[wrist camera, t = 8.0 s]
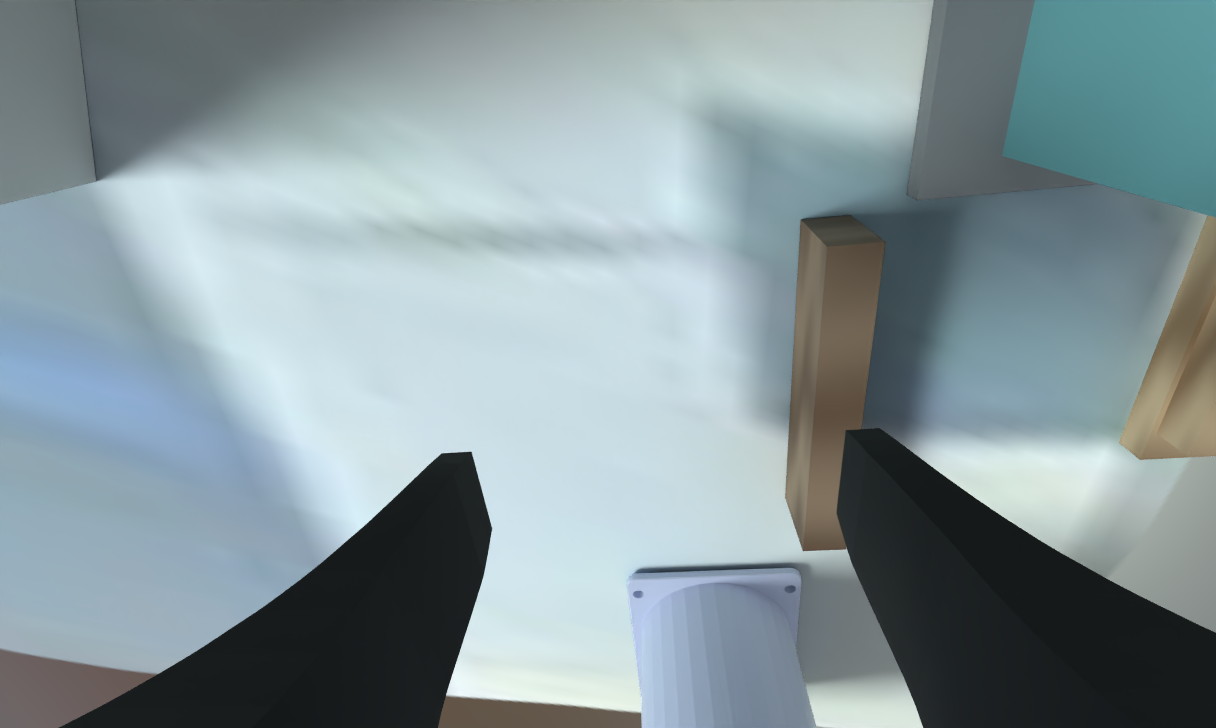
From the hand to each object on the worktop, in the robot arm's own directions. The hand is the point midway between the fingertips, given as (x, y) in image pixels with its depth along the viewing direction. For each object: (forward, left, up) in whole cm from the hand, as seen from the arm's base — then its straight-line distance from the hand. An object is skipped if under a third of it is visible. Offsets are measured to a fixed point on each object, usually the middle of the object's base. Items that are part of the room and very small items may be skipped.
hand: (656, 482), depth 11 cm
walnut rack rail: (-4, -6, -10) cm, 13 cm away
